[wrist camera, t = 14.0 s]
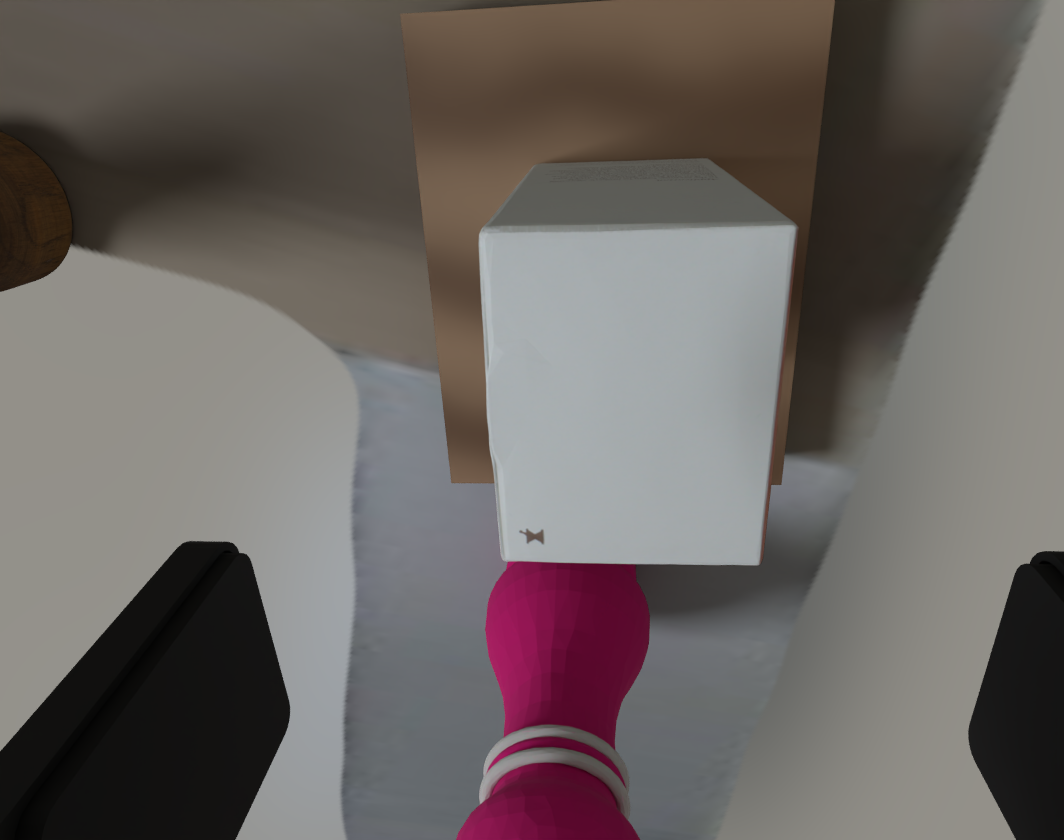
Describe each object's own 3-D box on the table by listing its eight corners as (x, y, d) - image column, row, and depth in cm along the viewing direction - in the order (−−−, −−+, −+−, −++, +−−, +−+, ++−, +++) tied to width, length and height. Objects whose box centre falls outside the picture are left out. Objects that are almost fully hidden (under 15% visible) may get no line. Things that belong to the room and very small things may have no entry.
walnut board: (417, 18, 27) (400, 13, 24) (816, -6, 25) (836, -15, 23) (461, 456, 34) (451, 483, 32) (769, 456, 33) (781, 484, 30)
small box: (700, 370, 29) (765, 575, 17) (539, 371, 29) (494, 569, 18) (713, 152, 25) (806, 218, 13) (531, 158, 26) (467, 227, 14)
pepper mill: (474, 578, 37) (348, 1050, 19) (546, 475, 34) (478, 919, 16) (594, 641, 38) (581, 1147, 20) (674, 546, 35) (744, 1040, 17)
